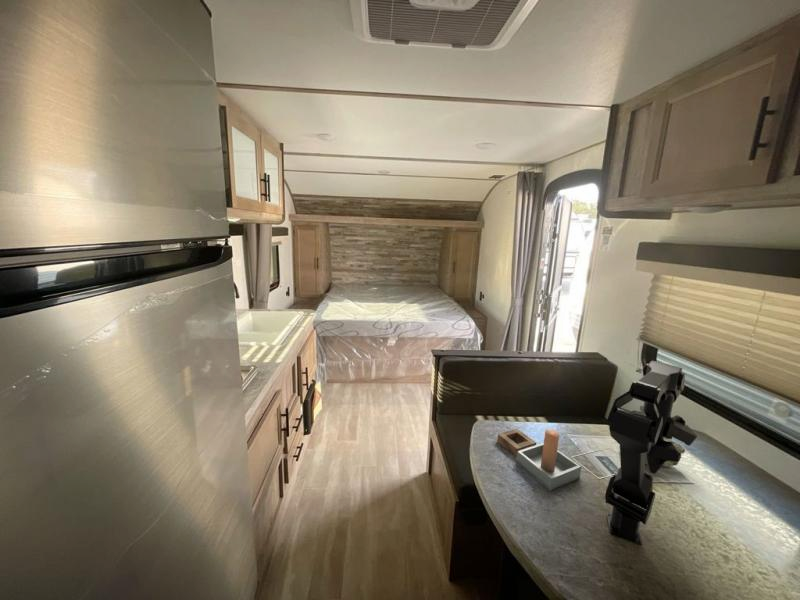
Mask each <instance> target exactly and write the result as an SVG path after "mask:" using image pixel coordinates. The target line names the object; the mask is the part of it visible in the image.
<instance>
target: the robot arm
mask: <svg viewBox="0 0 800 600" xmlns="http://www.w3.org/2000/svg"><path fill="white" fill-rule="evenodd" d="M641 370H642V377H641V378H640V379H639V380H636V381H635V380H633V381H632V382H631V384H630V386H629V390H628V391H626V392H624V393H623V394H622V395H620V396H618V397H616V398H615V399H614V402H613V404H612V407H611V409H610V411H609V413H608V416H607V419H606V425H607V426H608V429H609V433H610V437H611V438H612V439H613V440H614V441H615V442H617V444H618V445H619V446H620V447H619V454H620V455H619V458H620V460H619V461H620V467H619V468H618V471H617V472H616V473H617V474H616V473H613V474H614V475H613V476H610V477H609V482H608V485H607V486H606V490H605V493H604V494H605V495H604V500H605V503H606V504H608V505H610V506H612V510H611V514H609V513H606V520H607V525H608V530H609V533H610V535H611V536H613V537H616V538H619V539H622V540H625V541H628V542H631V543H634V544H636V545H639V546H641V545H642V546H643V541H642V538H641V534H640V531H639V529H640V525H641V523H642V524H643V525H645V526H646V524H647V522H648V520H649V518H650V517H651V513H652V509H653V505H654V502H655V498H656V492H654V485H653V484H654V483H653V482H654V477H653V476H652V475H651V474H656V473H657V472H658V471H659V470H660V468H661V467H663V466H662V465H663V464H664V463H665V462H666V461H673V462H678V463H680V462H681V459H680V457H681V458H682V454H680V453H679V451H678V450H677V448H676V447H675V446H674V444H673V443H672V442H668V441H665V440H664V439H663V437H666V438H668V439H671V440H673V438H674V439H675V440H678V441H680V442H682V443H684V444H685V445H686V446H689V447H691V445H692V444H693V443H694V442H695V440H696V439H697V438H698V435H697V433H695V431H694V429H692V428H691V427H690V426H689V425H687V424H686V420H685V419H684V418H683V417H681V416H680V415H674V416H672V411H673V406H674V404H675V402H676V401H677V400H678V398H679V396H680V395H681V392H683V391H684V390H685V382H686V381H685V378H686V373H685V372H683V368H682V367H679V366H675V365H672V364H668V363H663V362H660V361H656V360H651V361H650V362H649V363H646V364H645V366H643V367H642V369H641ZM633 399H635V400H636V401H637V400H638V401H641V402H643V406H642V405H640V407H639V410H640V411H639V410H635V409H634V410H628V409H626V408H623V406H625V405H627V404H628V403H630V402H632V401H633ZM645 455H646V460H647V464H645ZM646 465H647V467H648V471H649V474H648V473H646V468H645V467H646Z"/></svg>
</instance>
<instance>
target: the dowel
mask: <svg viewBox="0 0 800 600" xmlns="http://www.w3.org/2000/svg"><path fill="white" fill-rule="evenodd" d="M559 441H560V433H559V432H557V431H556V430H554V429H546V430H545V431H544V438H543V443H544V444H543V452H542V459H541V468H542V469H543V470H545V471H547V472H554V470H555V463H556V456H557V450H558V448H559Z"/></svg>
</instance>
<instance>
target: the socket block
mask: <svg viewBox="0 0 800 600" xmlns="http://www.w3.org/2000/svg"><path fill="white" fill-rule="evenodd" d="M515 441H517V442H519V443H516V442H515ZM497 443H498V444H500V445H501V446H502V447H504V448H505V449H506V450H507V451H508V452H509V453H511V455H513V456H515V458H517V451H520V450H523V449H526V448H529V447H532V446H535V445H537V442H536V441H535V440H534V439H532V437H529V436H528V435H527V434H526V433H524V432H522V431H521V430H520V429H518V428H513V429H510V430H506V431H504V432H503V431H502V432H499V433H498V434H497Z"/></svg>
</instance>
